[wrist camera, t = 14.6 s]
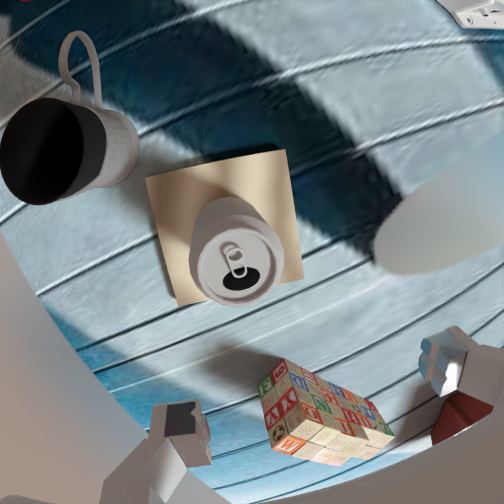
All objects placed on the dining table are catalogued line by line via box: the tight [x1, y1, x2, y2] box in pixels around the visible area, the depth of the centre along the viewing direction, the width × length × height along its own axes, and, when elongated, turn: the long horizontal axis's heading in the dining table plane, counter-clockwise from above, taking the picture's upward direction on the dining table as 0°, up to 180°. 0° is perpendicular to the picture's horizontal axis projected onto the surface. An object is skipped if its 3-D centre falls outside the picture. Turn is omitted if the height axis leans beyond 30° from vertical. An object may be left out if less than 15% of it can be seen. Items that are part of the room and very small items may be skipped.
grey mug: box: [0, 31, 140, 205], centre depth 24 cm, size 9×14×15 cm, turn 171°
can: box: [188, 197, 284, 307], centre depth 29 cm, size 8×8×12 cm
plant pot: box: [431, 392, 494, 446], centre depth 48 cm, size 19×19×17 cm
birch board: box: [145, 149, 304, 306], centre depth 36 cm, size 15×15×2 cm
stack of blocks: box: [258, 359, 395, 466], centre depth 41 cm, size 21×6×12 cm, turn 53°
